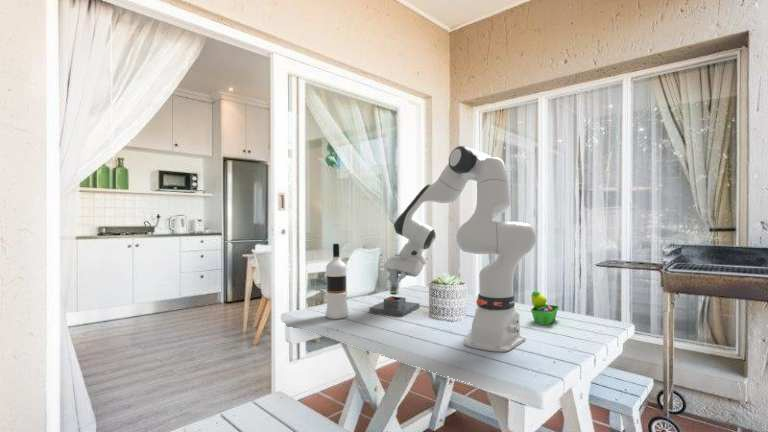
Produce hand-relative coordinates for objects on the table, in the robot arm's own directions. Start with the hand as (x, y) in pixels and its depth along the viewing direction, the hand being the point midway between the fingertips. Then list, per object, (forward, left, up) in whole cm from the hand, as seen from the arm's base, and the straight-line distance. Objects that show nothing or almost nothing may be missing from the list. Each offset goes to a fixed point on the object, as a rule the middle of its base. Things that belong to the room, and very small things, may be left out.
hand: (393, 280), depth 175 cm
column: (+1, 0, -6) cm, 6 cm away
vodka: (-19, +16, -13) cm, 28 cm away
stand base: (+1, 0, -13) cm, 13 cm away
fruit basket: (+12, -59, -13) cm, 62 cm away
